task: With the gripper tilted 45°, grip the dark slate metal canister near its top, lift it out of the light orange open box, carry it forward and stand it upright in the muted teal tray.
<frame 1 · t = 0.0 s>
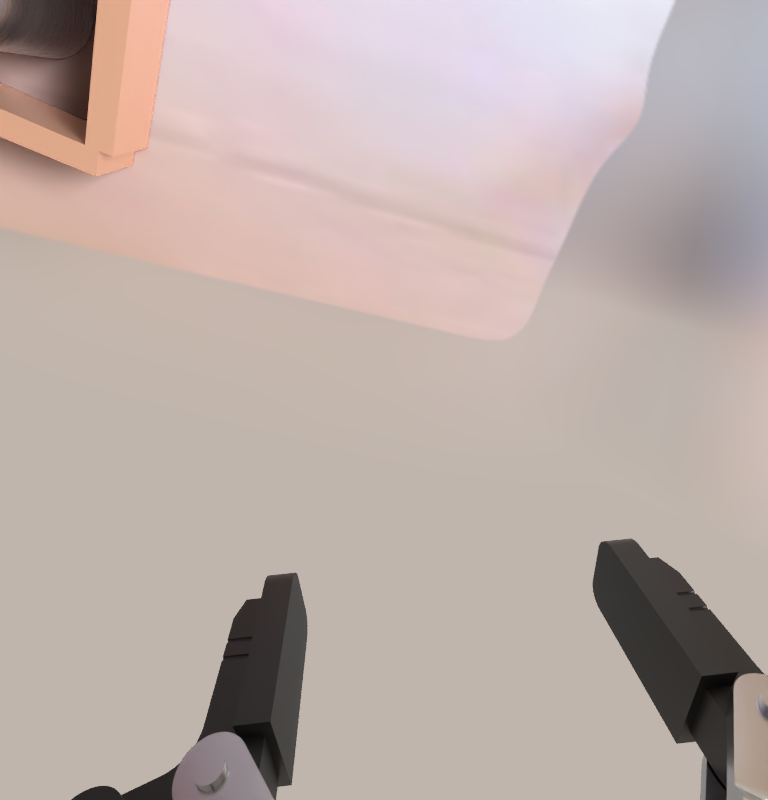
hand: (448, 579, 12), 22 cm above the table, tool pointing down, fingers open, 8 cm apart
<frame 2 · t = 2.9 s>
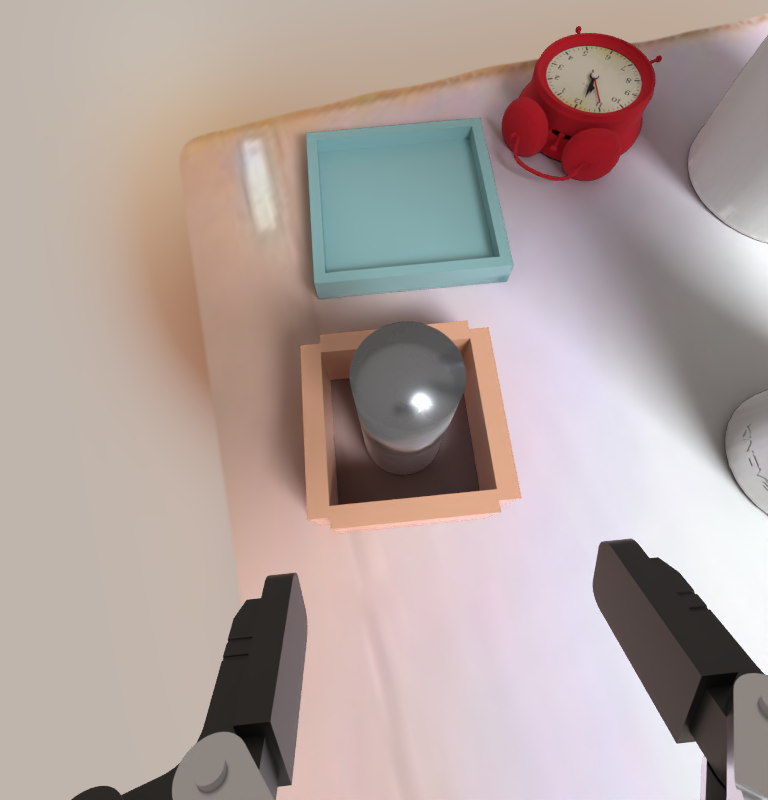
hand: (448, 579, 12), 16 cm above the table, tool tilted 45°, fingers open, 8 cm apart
alarm clock: (566, 135, 38), on the table
teal tray: (402, 213, 35), on the table
light orange open box: (402, 436, 30), on the table
canister: (404, 411, 24), in the light orange open box
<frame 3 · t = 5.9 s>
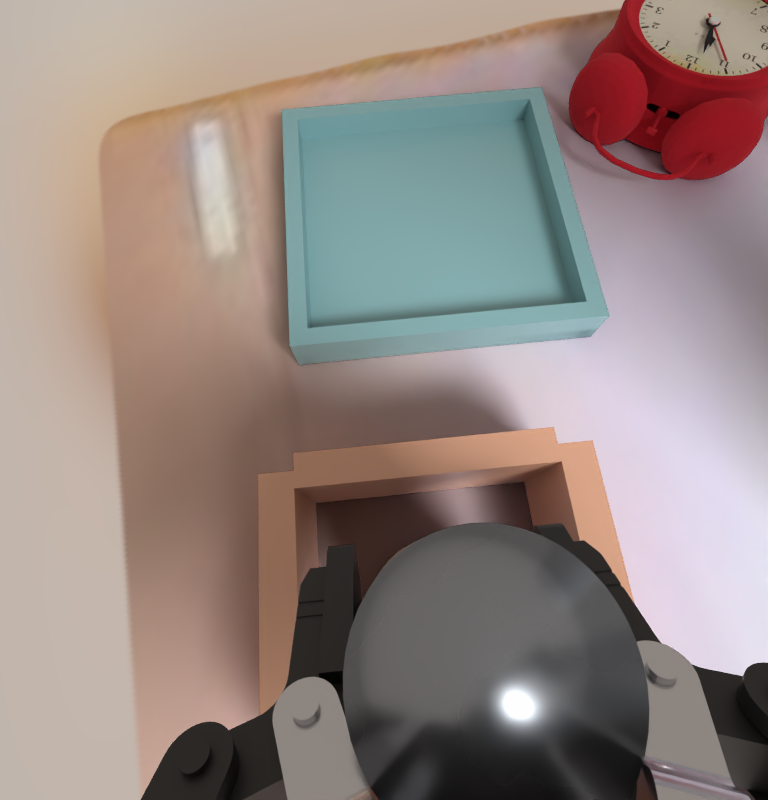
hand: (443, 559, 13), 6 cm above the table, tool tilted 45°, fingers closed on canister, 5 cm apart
alarm clock: (658, 115, 27), on the table
teal tray: (426, 230, 24), on the table
light orange open box: (434, 606, 18), on the table
canister: (451, 627, 13), in the light orange open box, touching gripper
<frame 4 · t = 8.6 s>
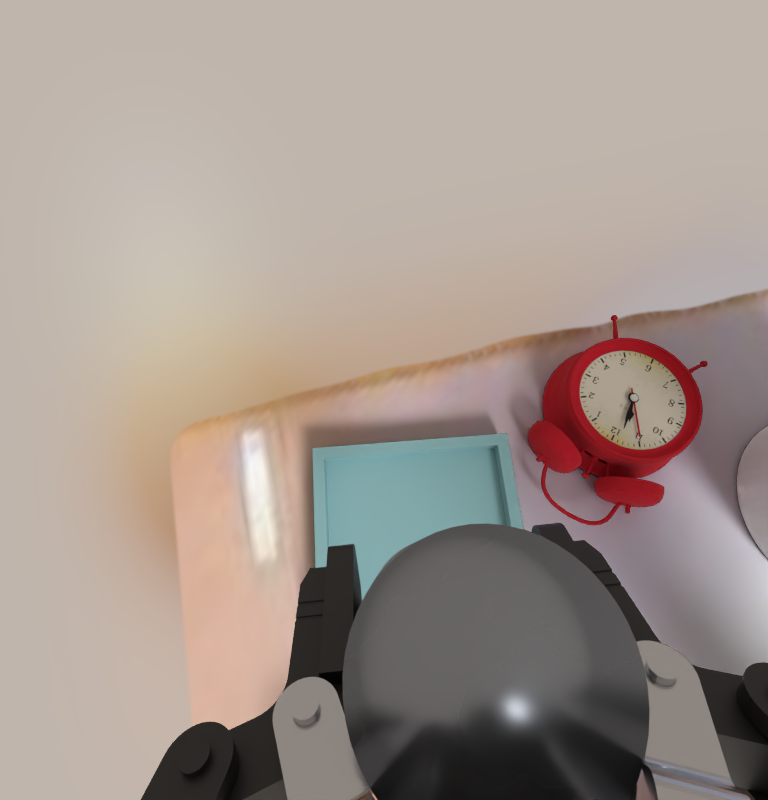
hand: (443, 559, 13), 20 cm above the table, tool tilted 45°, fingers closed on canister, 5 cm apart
alarm clock: (598, 432, 35), on the table
teal tray: (418, 543, 32), on the table
canister: (451, 628, 13), point 19 cm above the table, touching gripper
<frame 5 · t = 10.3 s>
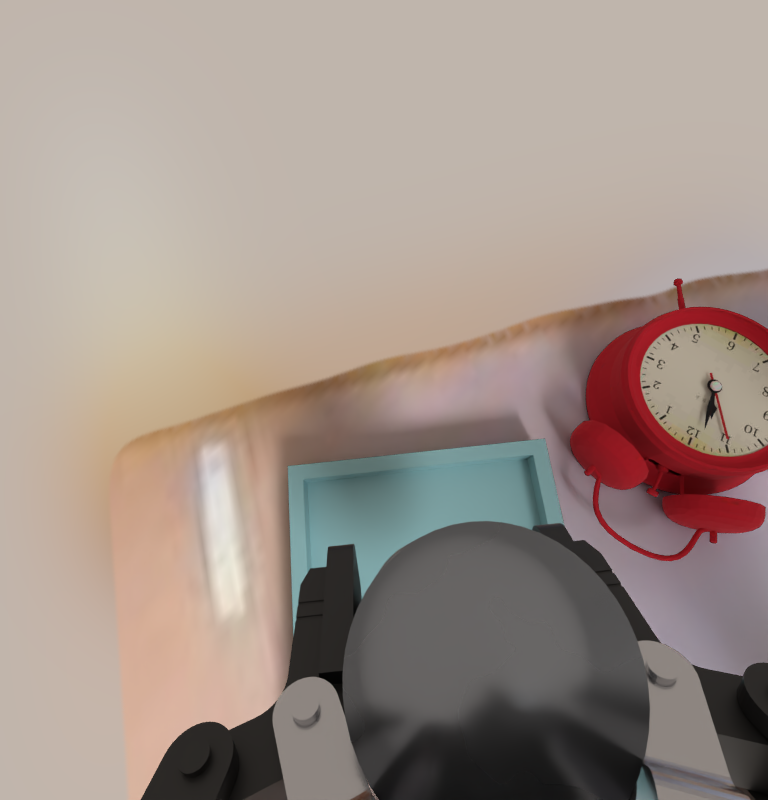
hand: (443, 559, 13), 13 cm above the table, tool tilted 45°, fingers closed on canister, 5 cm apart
alarm clock: (660, 432, 27), on the table
teal tray: (431, 588, 24), on the table
canister: (451, 626, 13), point 12 cm above the table, touching gripper
when the fingers open (8 cm above the table, at t = 11.6 s): canister stays where it is, resting on teal tray.
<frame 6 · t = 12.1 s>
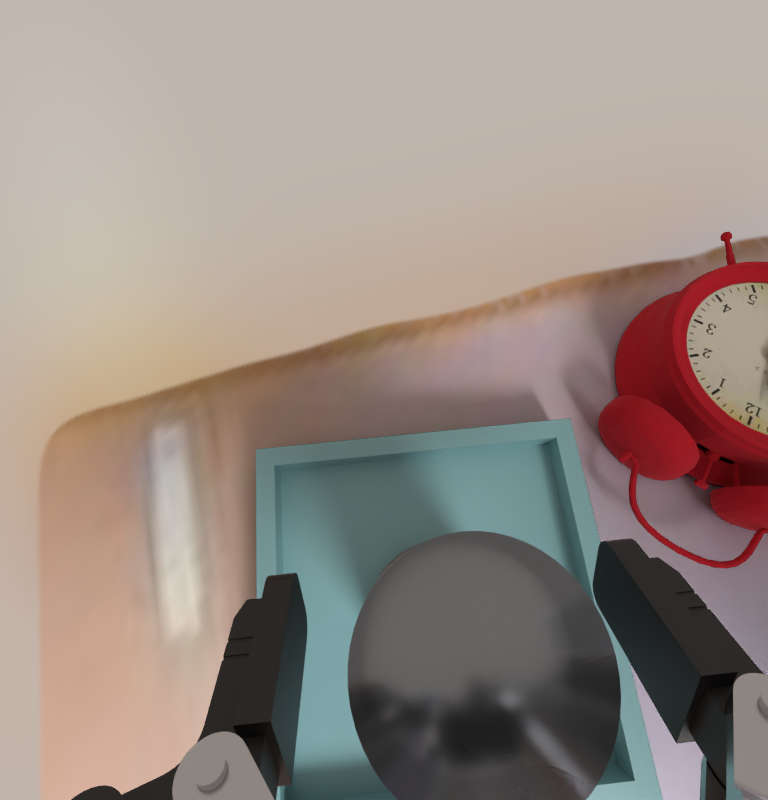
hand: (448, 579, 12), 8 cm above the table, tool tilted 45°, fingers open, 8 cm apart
alarm clock: (702, 414, 22), on the table
teal tray: (430, 600, 19), on the table
canister: (447, 626, 13), in the teal tray, point 6 cm above the table
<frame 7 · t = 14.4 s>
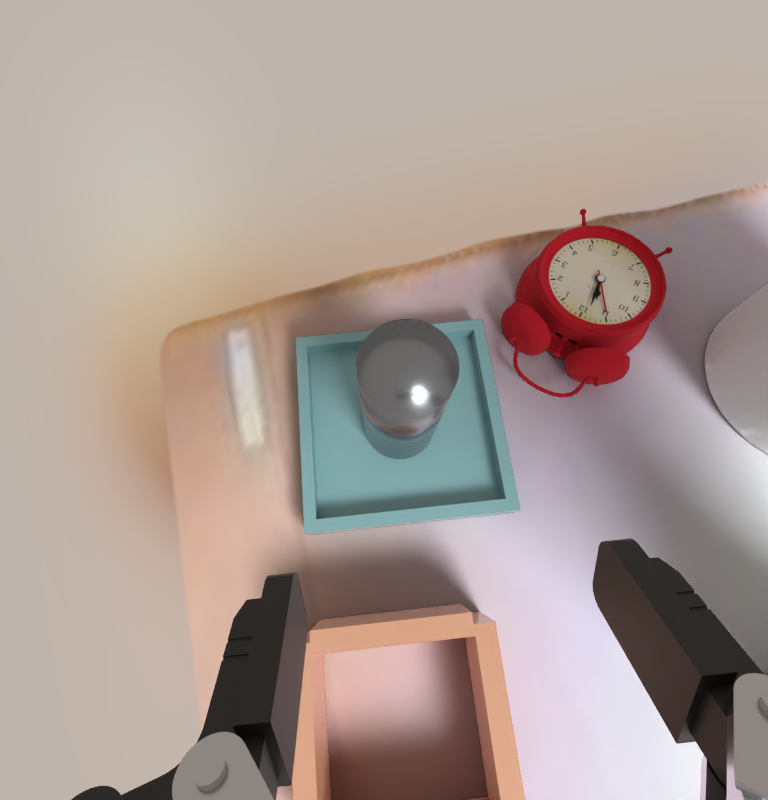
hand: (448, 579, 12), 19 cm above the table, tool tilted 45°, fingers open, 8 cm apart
alarm clock: (570, 323, 36), on the table
teal tray: (399, 425, 33), on the table
light orange open box: (401, 714, 27), on the table
canister: (402, 400, 27), in the teal tray, point 6 cm above the table
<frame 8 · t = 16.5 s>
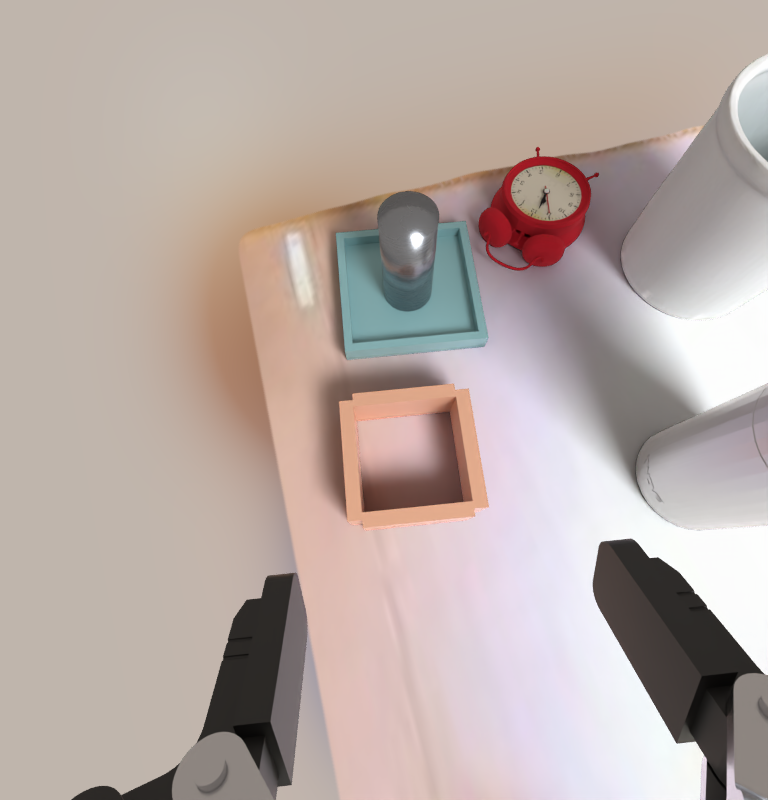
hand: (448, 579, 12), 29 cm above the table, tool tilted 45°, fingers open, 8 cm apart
alarm clock: (528, 228, 51), on the table
teal tray: (407, 293, 48), on the table
light orange open box: (408, 462, 42), on the table
canister: (407, 257, 42), in the teal tray, point 6 cm above the table
utensil holder: (684, 268, 48), on the table
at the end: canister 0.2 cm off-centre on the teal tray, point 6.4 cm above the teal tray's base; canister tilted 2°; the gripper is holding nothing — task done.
